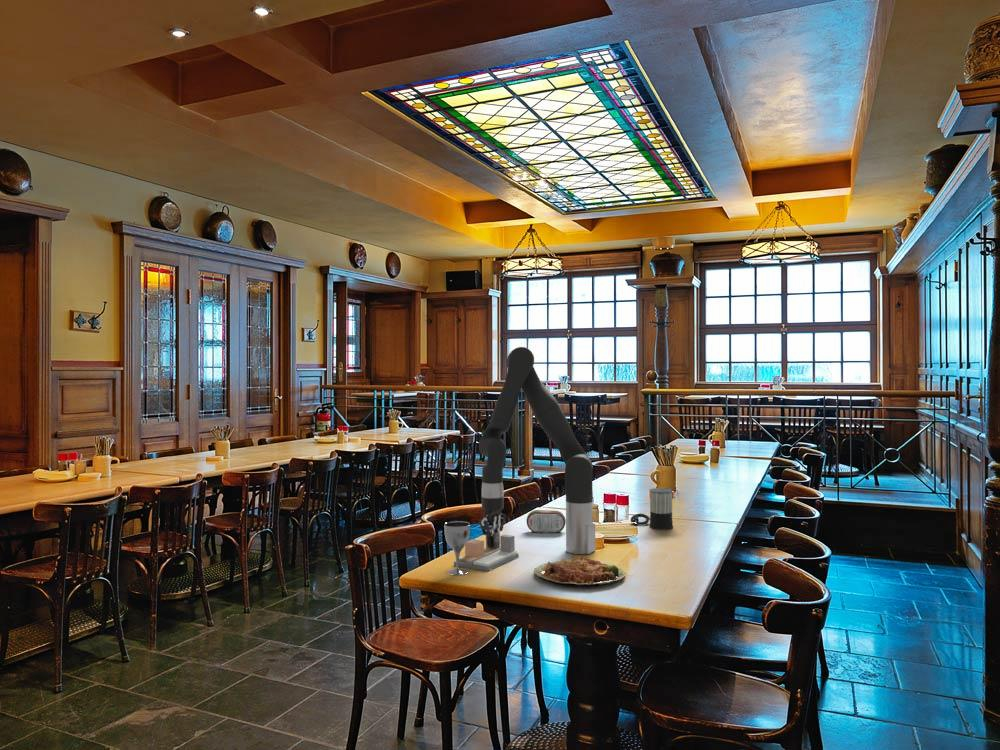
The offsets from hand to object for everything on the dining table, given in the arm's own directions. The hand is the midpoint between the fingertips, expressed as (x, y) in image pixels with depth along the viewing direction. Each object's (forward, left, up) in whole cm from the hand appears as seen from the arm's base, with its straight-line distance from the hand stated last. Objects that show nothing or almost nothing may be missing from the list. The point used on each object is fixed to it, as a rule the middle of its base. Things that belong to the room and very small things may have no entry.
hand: (492, 545), depth 237 cm
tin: (-1, -37, -3) cm, 37 cm away
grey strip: (-7, +9, -1) cm, 11 cm away
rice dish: (-36, +8, -3) cm, 37 cm away
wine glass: (-2, +24, -3) cm, 24 cm away
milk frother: (-33, -67, -3) cm, 75 cm away
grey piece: (0, +8, -1) cm, 8 cm away
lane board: (-3, +9, -3) cm, 10 cm away
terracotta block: (0, +11, -1) cm, 11 cm away
